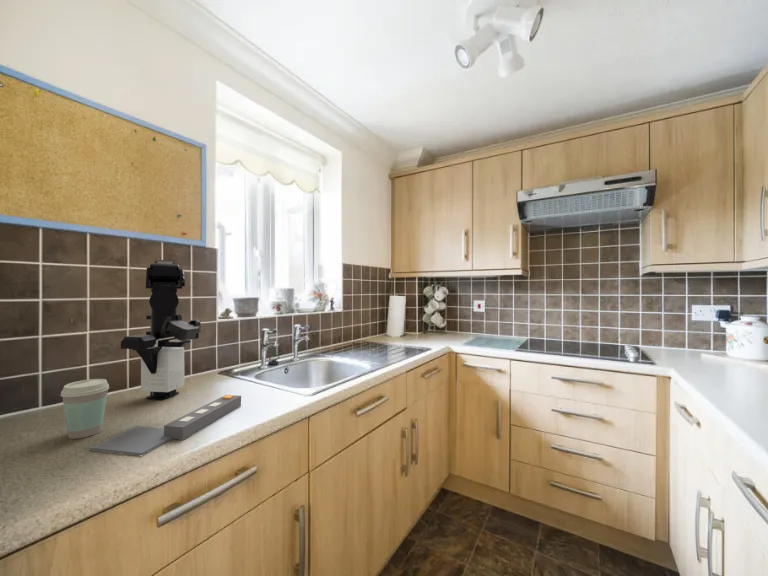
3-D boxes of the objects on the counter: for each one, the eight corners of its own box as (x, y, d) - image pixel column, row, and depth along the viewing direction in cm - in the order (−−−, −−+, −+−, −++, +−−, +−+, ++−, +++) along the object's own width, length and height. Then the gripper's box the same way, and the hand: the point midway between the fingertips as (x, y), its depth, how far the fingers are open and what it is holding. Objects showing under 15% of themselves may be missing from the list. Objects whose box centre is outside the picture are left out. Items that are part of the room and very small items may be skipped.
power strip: (163, 438, 73) (164, 423, 73) (225, 404, 95) (225, 393, 95) (182, 440, 73) (183, 425, 73) (240, 405, 94) (241, 394, 94)
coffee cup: (104, 422, 82) (105, 376, 82) (112, 432, 76) (113, 382, 76) (57, 434, 75) (58, 383, 75) (62, 445, 70) (62, 391, 70)
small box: (184, 386, 85) (185, 347, 85) (167, 392, 79) (168, 350, 80) (158, 384, 86) (159, 346, 86) (139, 391, 81) (140, 349, 81)
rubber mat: (89, 450, 68) (89, 447, 68) (136, 428, 79) (137, 425, 79) (141, 456, 66) (141, 453, 66) (183, 432, 77) (183, 430, 77)
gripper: (161, 314, 73) (160, 382, 72) (216, 309, 91) (215, 364, 91) (119, 313, 74) (118, 380, 74) (181, 309, 93) (180, 362, 93)
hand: (163, 370), depth 83 cm, fingers closed on small box, 6 cm apart
